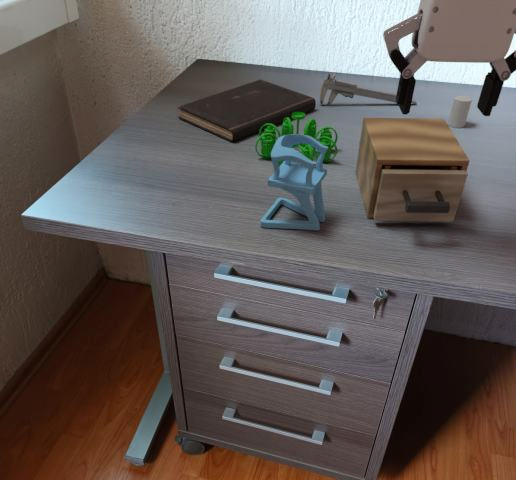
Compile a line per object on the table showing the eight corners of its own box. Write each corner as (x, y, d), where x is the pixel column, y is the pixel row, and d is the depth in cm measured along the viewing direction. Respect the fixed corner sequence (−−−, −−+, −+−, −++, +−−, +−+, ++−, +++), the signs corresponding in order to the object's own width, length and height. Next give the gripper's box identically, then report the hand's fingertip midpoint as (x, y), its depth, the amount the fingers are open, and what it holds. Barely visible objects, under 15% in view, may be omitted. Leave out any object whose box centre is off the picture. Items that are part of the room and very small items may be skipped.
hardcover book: (178, 118, 104) (177, 106, 102) (260, 90, 116) (260, 79, 114) (233, 143, 96) (232, 130, 94) (315, 110, 108) (316, 98, 106)
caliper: (319, 106, 109) (322, 73, 105) (319, 104, 110) (321, 72, 106) (416, 105, 110) (423, 72, 106) (415, 103, 111) (421, 71, 106)
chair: (313, 239, 74) (321, 157, 65) (259, 226, 76) (260, 145, 67) (330, 213, 79) (339, 133, 70) (278, 202, 81) (281, 123, 73)
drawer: (462, 240, 72) (478, 191, 67) (379, 239, 72) (389, 190, 67) (432, 177, 85) (443, 132, 80) (362, 176, 85) (369, 132, 80)
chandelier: (351, 147, 95) (356, 108, 90) (316, 181, 86) (320, 140, 81) (278, 130, 100) (279, 92, 95) (238, 161, 91) (237, 120, 86)
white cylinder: (462, 121, 104) (469, 95, 101) (466, 128, 102) (474, 101, 98) (446, 121, 104) (452, 95, 101) (450, 127, 102) (457, 101, 98)
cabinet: (452, 219, 78) (469, 160, 71) (367, 218, 78) (377, 159, 71) (430, 173, 88) (444, 118, 82) (355, 172, 88) (363, 117, 82)
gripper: (560, -70, 54) (504, 101, 66) (394, -73, 55) (368, 98, 67) (592, -60, 49) (524, 125, 61) (407, -63, 49) (376, 121, 61)
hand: (443, 111), depth 64 cm, fingers open, 9 cm apart
